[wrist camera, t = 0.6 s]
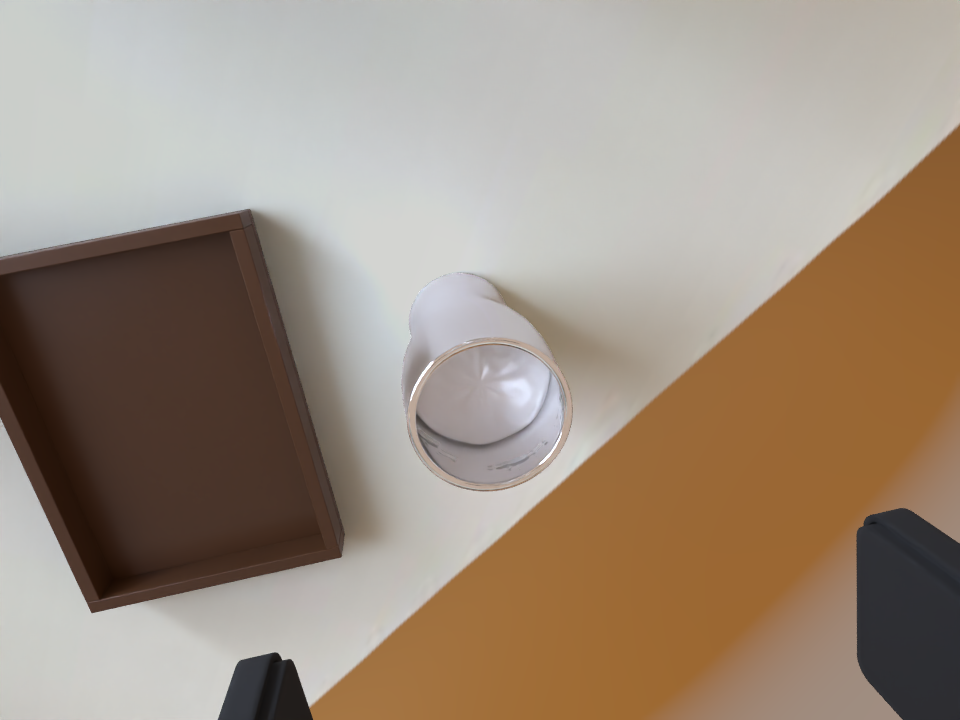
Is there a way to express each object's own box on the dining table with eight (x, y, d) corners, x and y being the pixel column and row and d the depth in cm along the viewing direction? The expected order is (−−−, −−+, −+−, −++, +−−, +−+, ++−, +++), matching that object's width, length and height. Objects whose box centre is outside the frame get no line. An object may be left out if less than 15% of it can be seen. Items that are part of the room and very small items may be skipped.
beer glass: (487, 390, 41) (532, 517, 27) (384, 351, 39) (374, 464, 25) (533, 291, 39) (608, 370, 25) (427, 246, 38) (443, 303, 23)
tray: (-36, 263, 35) (-68, 272, 33) (250, 208, 36) (239, 212, 33) (109, 586, 42) (91, 613, 40) (345, 534, 43) (341, 557, 40)
